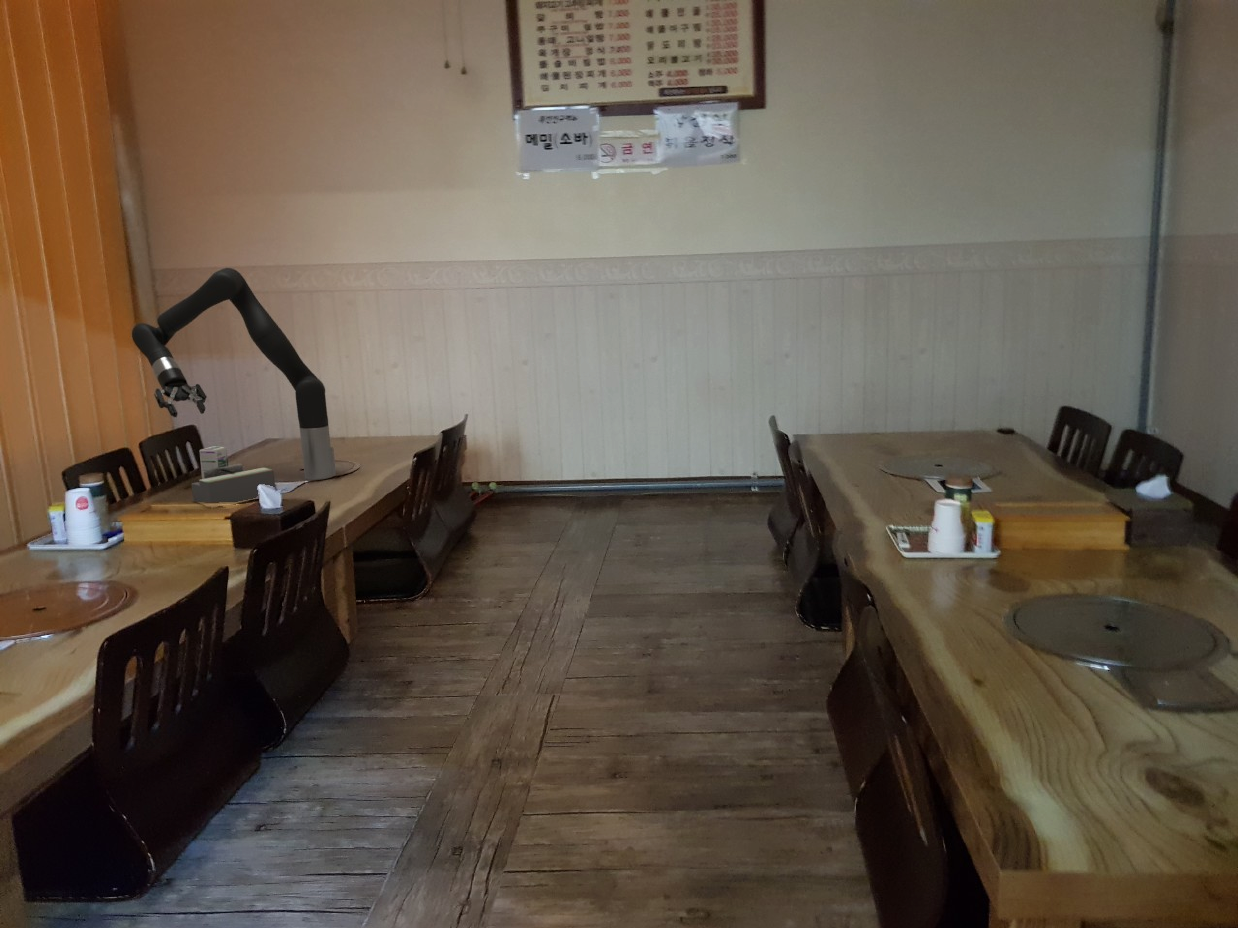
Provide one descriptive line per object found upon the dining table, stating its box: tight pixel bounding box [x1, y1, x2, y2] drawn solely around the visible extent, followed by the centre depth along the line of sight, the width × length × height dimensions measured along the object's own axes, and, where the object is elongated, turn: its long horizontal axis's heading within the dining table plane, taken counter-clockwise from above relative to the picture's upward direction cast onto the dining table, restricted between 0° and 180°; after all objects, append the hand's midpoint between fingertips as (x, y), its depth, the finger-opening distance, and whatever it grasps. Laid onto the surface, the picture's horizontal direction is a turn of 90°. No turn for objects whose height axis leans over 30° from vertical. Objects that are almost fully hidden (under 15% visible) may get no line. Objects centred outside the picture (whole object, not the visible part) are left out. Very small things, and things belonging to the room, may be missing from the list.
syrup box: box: [199, 445, 229, 470], centre depth 302 cm, size 6×6×14 cm
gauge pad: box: [200, 462, 244, 479], centre depth 297 cm, size 12×8×8 cm
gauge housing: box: [191, 467, 276, 503], centre depth 295 cm, size 20×13×8 cm, turn 137°
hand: (189, 413), depth 307 cm, fingers open, 8 cm apart
